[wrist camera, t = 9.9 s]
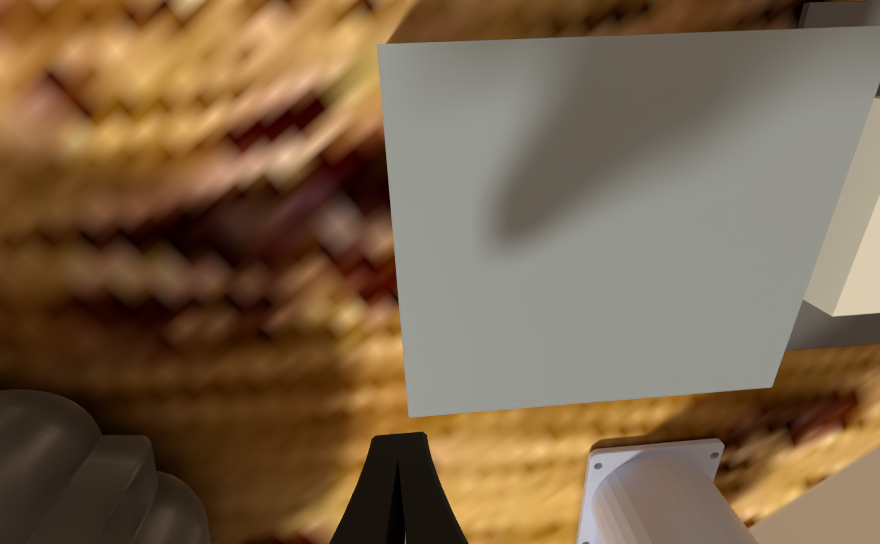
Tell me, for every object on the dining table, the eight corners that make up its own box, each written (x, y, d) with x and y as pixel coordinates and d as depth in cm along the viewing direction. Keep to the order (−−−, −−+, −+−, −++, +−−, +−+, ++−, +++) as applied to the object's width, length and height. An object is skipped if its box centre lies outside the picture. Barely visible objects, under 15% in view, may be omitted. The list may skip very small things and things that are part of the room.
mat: (921, 336, 24) (927, 339, 24) (710, 353, 24) (713, 356, 23) (1093, -7, 18) (1104, -8, 17) (804, 3, 17) (810, 2, 17)
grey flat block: (714, 337, 23) (771, 387, 20) (407, 360, 22) (408, 417, 19) (795, 33, 17) (900, 25, 14) (382, 48, 16) (376, 43, 13)
